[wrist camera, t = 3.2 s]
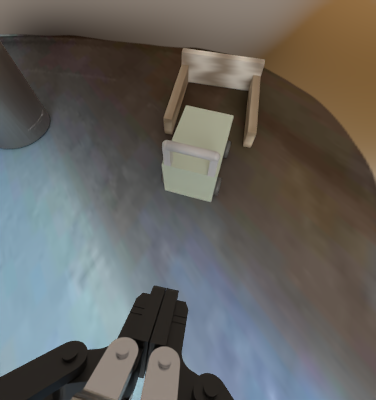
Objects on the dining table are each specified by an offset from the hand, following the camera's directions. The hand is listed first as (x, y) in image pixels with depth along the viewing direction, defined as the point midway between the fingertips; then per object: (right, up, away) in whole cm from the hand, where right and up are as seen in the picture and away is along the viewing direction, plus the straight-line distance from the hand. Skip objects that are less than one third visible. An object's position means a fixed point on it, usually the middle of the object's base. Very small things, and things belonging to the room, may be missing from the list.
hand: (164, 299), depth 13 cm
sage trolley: (+3, +11, +19) cm, 22 cm away
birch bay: (+6, +21, +24) cm, 32 cm away
